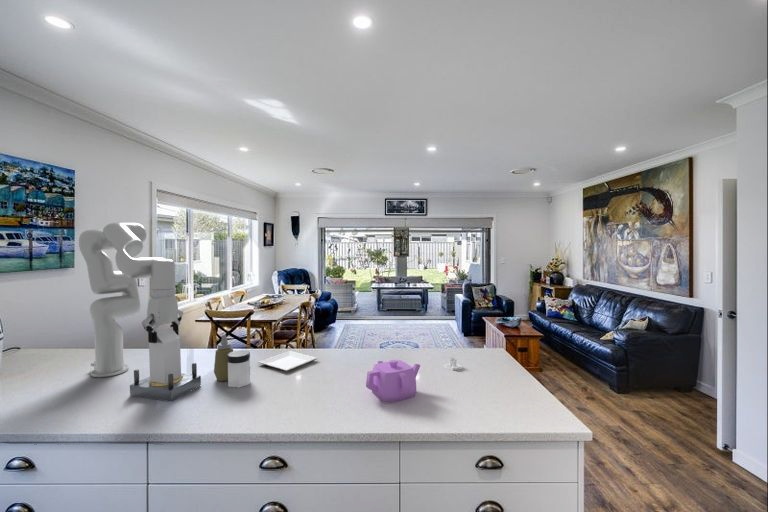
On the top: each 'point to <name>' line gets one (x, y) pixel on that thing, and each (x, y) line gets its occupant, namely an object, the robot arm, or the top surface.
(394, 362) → the teakettle
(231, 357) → the jar
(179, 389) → the grey pegged base
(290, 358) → the plate
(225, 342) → the squeeze bottle
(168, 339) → the milk carton
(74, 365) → the top surface
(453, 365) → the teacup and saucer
